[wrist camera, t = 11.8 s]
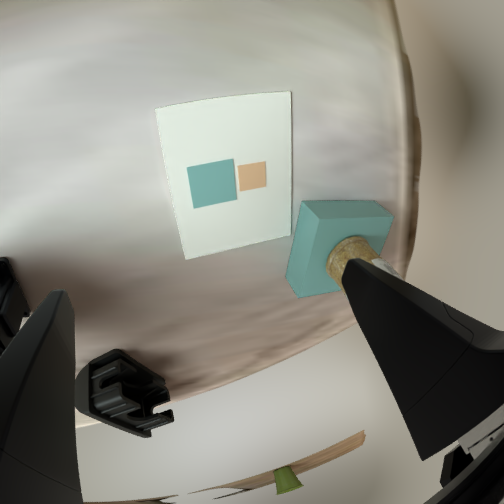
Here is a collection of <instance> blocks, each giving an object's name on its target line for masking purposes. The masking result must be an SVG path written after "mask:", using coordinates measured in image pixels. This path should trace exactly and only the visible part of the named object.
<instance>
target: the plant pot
mask: <svg viewBox="0 0 504 504" xmlns="http://www.w3.org/2000/svg"><path fill="white" fill-rule="evenodd" d="M274 476H275V482H276V487H277V495H278V494H282V493H286V492H289V491H292V490H295V489H297V488H300V487H302V486H303V485H302V484H301V482H300V481H299V480H298V478H297V477H296V475H295V474H294V472H293V471H292V469H291V467H290V466H288V467H283V468H279V469H278V470H275V471H274Z"/></svg>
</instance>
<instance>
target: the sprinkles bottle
mask: <svg viewBox="0 0 504 504" xmlns="http://www.w3.org/2000/svg"><path fill="white" fill-rule="evenodd" d="M352 258H361V259H363V260H365V261H367V262H369V263H371V264H373V265H375V266H377V267H379V268H380V269H382V270H384V271H386V272H388V273H390V274H392V275H394V276H396V277H398V278H399V279H401V280H403V279H402V277H401V276H400V275H399V274H398V273H397V272H396V271H395V270H394V269H393V268H392V267H391V266H390V265H389V264H388V263H387V262H386V261H385V260H383V259H382V258H381V257H380V256H379V255H378V254H377V253H376V252H375V251H374V250H373V248H371V247H370V245H369V243H368V241H367V240H366V239H364V238H362V237H359V236H353V237H349V238H346V239H344V240H343V241H342V242H340V243H338V244H337V246H335V247H334V249H333V250H332V251H331V253H330V254H329V256H328V258H327V262H326V272H327V273H328V275H329V276H330V277H331V278H332V279H334V281H335V282H336V283H337V284H338V286H339V287H340V289H341V290H342V291H343V293H344V294H345V295H346V293H345V290H344V288H343V286H342V282H341V277H342V274H343V271H344V269H345V266H346V263H347V261H348V260H349V259H352ZM403 281H404V280H403ZM346 298H347V295H346ZM347 299H348V298H347ZM348 301H349V300H348Z"/></svg>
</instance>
